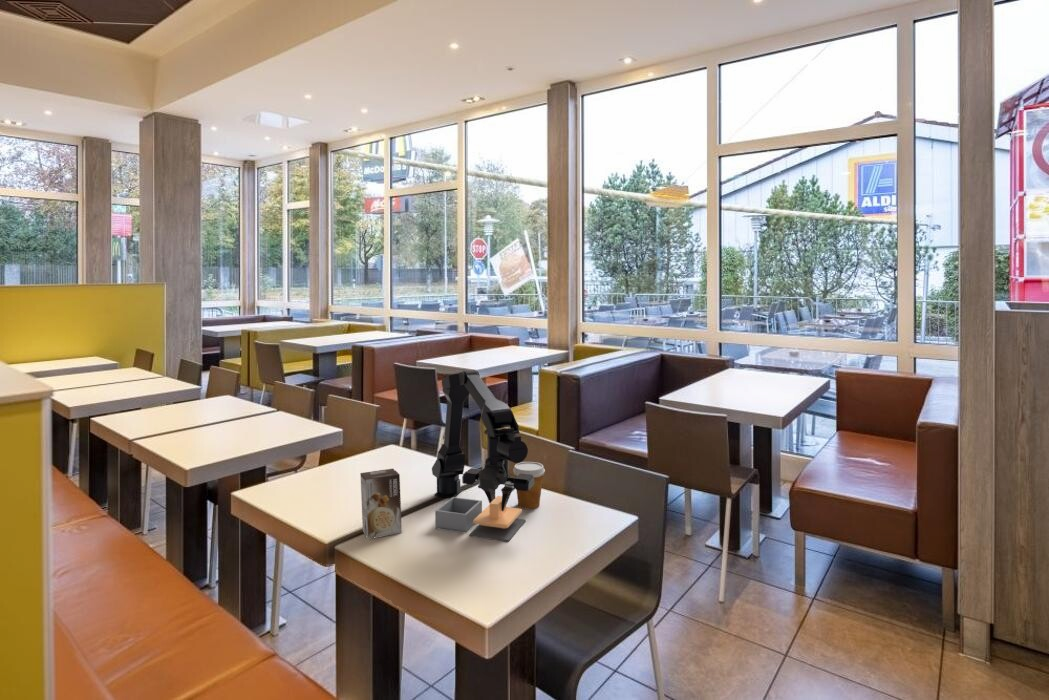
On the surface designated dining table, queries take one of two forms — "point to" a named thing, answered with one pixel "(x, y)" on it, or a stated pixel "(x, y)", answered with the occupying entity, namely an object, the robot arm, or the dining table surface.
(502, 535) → the mat
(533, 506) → the disposable coffee cup
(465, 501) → the tub
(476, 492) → the dining table surface
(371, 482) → the coffee box
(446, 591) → the dining table surface
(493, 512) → the lid
